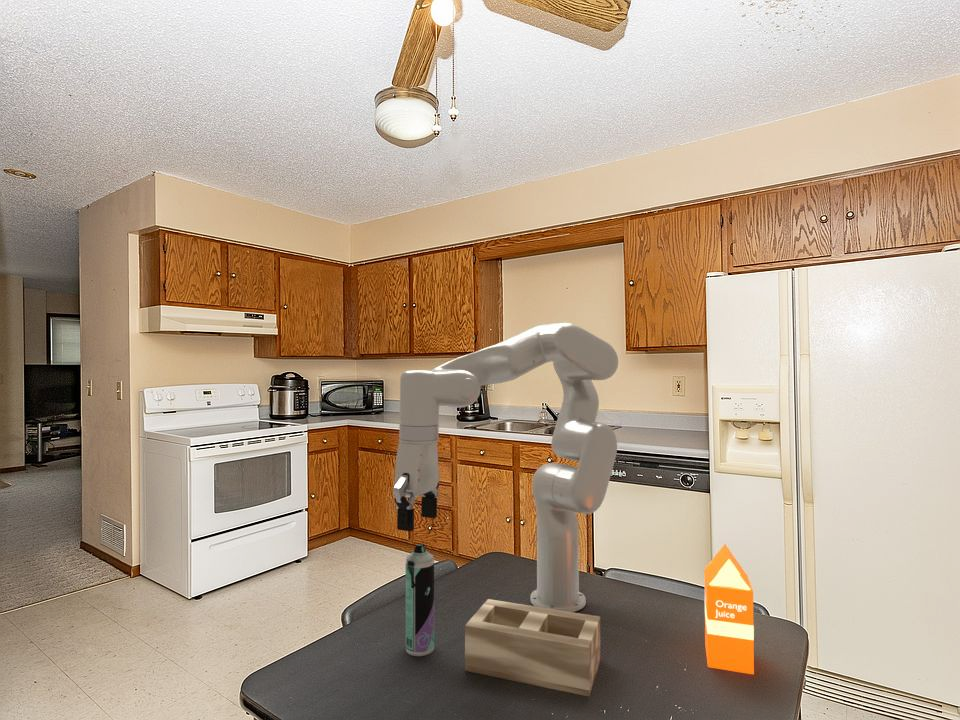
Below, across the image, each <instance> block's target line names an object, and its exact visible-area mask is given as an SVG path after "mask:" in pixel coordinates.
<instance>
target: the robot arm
mask: <svg viewBox="0 0 960 720" xmlns="http://www.w3.org/2000/svg"><path fill="white" fill-rule="evenodd" d="M550 362H552V365H553V369H554V372H555V373H556V376H557V377H558V378H559V379H558V380H559V381H560V384H561V387H562V392H563V393H562V394H563V395H562V396H563V397H562V403H561V407H560V409H559V414H558V417H557V420H556V422H555V427H554V430H553V433H552V437H551V450H552V451H553V453H554V454H555V455H556V457H559V458H562V459H565V460H568V461H572V462H577V463H578V464H577V465H578V466H573V465H570V464H564V463H558V462H548V463H545V464H542V465H541V466H540V467H538V468H537V469H536V470H535V472H534V475H533V477H532V484H531V487H532V488H531V489H532V494H533V495H532V496H533V499H534V504H535V511H536V589H534V590H533V591H532V592H531V593H530V596H529V597H530V600H529V601H530V603H531V604H532V606H536V607H542V608H548V609H555V610H561V611H568V612H574V613H576V612H578V611H580V610H582V609H583V608H585V606H586V603H587V601H586V600H587V599H586V596H585V595H584V593H582V592H581V591H580V577H579V576H580V574H579V573H580V570H579V569H580V568H579V567H580V565H579V564H580V561H579V559H580V558H579V556H580V554H579V552H580V551H579V550H580V547H579V544H580V543H579V542H580V541H579V539H580V538H579V535H580V533H579V530H580V529H579V528H580V527H579V520H578V515H577V514H576V513H578V514H583V515H590V514H593V513H595V512H596V511H597V510H599V509H600V507H601V506H602V503H603V502H604V499H605V497H606V494H607V490H608V487H609V483H610V481H611V475H612V472H613V469H614V464H615V461H616V457H617V452H618V441H617V436H616V433H615V431H614V430H613V428H612V427H610V426H609V425H608V424H606V423H603V422H601V421H600V422H598V421H596V420H597V416H598V410H599V405H600V400H599V399H600V398H599V395H598V393H597V389H596V387H595V385H594V383H593V381H604V380H607V379H609V378H611V377H612V376H613V375H614V374H615V373H616V372H617V370H618V367H619V357H618V353H617V352H616V350H615V348H614V347H613V346H612V345H611V344H610V343H608V342H606V341H605V340H603V339H602V338H600V337H598V336H596V335H595V334H593V333H591V332H589V331H588V330H586V329H585V328H582V327H580V326H578V325H577V324H574V323H570V322H555V323H546V324H545V323H544V324H540V325H539V324H538V325H535V326H532V327H531V328H529V329H526V330H524V331H522V332H520V333H517V334H516V335H513V336H512V337H510V338H507V339H505V340H502V341H500V342H498V343H495V344H493V345H490V346H488V347H484V348H482V349H479V350H476V351H474V352H471V353H468V354H465V355H462V356H459V357H456V358H455V359H452V360H449V361H446V362H445V363H443V364H441V365H439V366H437V367H435V368H433V369H431V370H429V369H428V370H423V369H413V370H412V369H411V370H410V369H409V370H404V371H403V372H402V373H401V374H400V377H399V378H400V379H399V380H400V381H399V429H398V431H399V433H398V434H399V435H398V436H399V439H398V440H399V441H398V442H399V443H398V447H397V451H396V456H395V457H396V459H395V468H394V469H395V470H394V483H393V485H394V486H393V488H392V492H393V496H394V498H393V499H394V503H395V508H396V509H397V511H396V513H397V515H396V516H397V517H396V528H397V530H398V531H404V532H414V530H415V508H413V506H414V503H415V501H416V498H417V497H421V505H420V506H421V510H420V515H421V517H422V518H427V519H436V518H438V497H439V491H438V489H439V487H440V483H439V482H440V477H441V472H440V471H439V455H438V443H439V429H440V428H439V427H440V426H439V422H440V414H439V413H440V407H441V406H442V407H443V406H444V407H451V408H460V409H461V408H466V407H469V406H471V405H473V404H475V402H476V401H477V400H478V398H479V397H480V395H481V390H482V389H481V386H488V385H495V384H496V385H497V384H503V383H507V382H511V381H513V380H516V379H519V377H521V376H523V375H526V374H528V373H530V372H531V371H533V370H534V369H537V368H539V367H541V366H543V365H545V364H546V363H550ZM422 495H423V496H422ZM407 498H409V499H407Z"/></svg>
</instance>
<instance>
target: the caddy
mask: <svg viewBox="0 0 960 720" xmlns="http://www.w3.org/2000/svg"><path fill="white" fill-rule="evenodd" d="M600 663H601V616H599V615H592V614H585V613H580V612H579V613H578V612H568V611H561V610H555V609H548V608H542V607H536V606H534V605H530V604H529V605H528V604H522V603H518V602H517V603H516V602H515V603H514V602H510V601H502V600H496V599H490V598H487V599H486V601H485V602H484V603H483V604H482V605H481V606H480V608H479V609H478V610H477V611H475V614H473V616H472V617H471V618H470V619H468V621H467V622H466V624H465V625H464V670H465V672H470V673H475V674H479V675H484V676H489V677H494V678H498V679H503V680H508V681H513V682H518V683H522V684H527V685H532V686H537V687H542V688H545V689H546V688H547V689H550V690H551V689H552V690H555V691H560V692H563V693H564V692H566V693H570V694H575V695H579V696H584V697H590V695H591V691H592V688H593V684H594V682H595V678H596V676H597V673H598V669H599V666H600Z"/></svg>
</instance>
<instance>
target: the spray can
mask: <svg viewBox="0 0 960 720" xmlns="http://www.w3.org/2000/svg"><path fill="white" fill-rule="evenodd" d="M414 546H415V547H414V548H413V550H412V552H411V553H410V554H408V555H407V556H406V557H405V652H406V653H407V655H408V654H409V656H412V657H413V656H414V657H423V656H428V655H430V654H432V653H433V652H434V651H435V559H434V555H433V554H431V553H430V552H428V550H427V549H426V548H425V543H418V544H416V545H414Z"/></svg>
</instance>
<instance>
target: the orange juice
mask: <svg viewBox="0 0 960 720" xmlns="http://www.w3.org/2000/svg"><path fill="white" fill-rule="evenodd" d="M703 572H704V591H703V592H704V598H703V599H704V625H705V626H704V640H705V641H704V644H705V645H704V646H705V655H706V662H707V668H711V669H716V670H717V669H718V670H725V671H729V672H730V671H731V672H736V673H742V674H747V675H748V674H749V675H755V666H754V665H755V664H754V663H755V661H754V660H755V655H754V652H755V651H754V648H755V645H754V644H755V641H754V638H755V626H754V625H755V624H754V590H753V587H752V583H751V581H750V579H749V576H748V573H747V572H745V570H744V569H743V567H742V566H741V565H740V563H739V562H738V560H737V559H736V557H735V555H733V553H732V552H731V551H730V549H729V548H728V546H727V543H726V542H725V543H724V544H723V546H722V547H721V548H720V549H719V551H717V553H716V554H715V555H714V557H713V558H712V559H711V561H710V562H709V563H708V564H707V565H706V567H704V569H703Z"/></svg>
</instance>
